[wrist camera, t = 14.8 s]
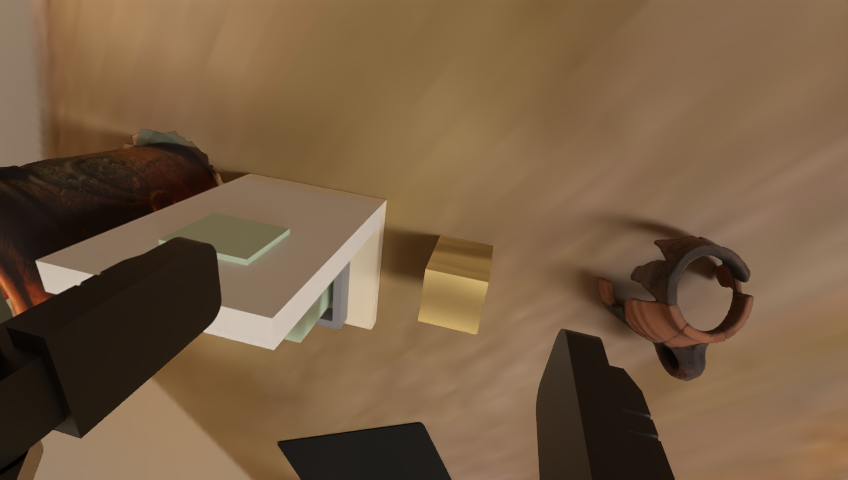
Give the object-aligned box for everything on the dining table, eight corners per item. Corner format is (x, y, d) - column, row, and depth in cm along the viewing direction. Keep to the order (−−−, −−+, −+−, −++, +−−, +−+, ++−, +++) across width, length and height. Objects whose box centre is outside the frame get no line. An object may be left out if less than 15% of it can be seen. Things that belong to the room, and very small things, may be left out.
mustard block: (440, 235, 38) (425, 268, 31) (493, 245, 37) (488, 282, 31) (433, 280, 40) (417, 320, 33) (483, 291, 39) (476, 334, 33)
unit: (249, 169, 39) (33, 254, 21) (387, 195, 37) (272, 311, 20) (257, 293, 45) (93, 438, 28) (375, 321, 43) (280, 496, 26)
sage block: (286, 248, 40) (244, 282, 34) (333, 258, 39) (298, 294, 33) (288, 290, 42) (248, 330, 36) (333, 300, 41) (300, 342, 35)
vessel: (137, 254, 46) (-104, 368, 28) (99, 128, 41) (-229, 167, 23) (248, 264, 44) (60, 397, 26) (223, 130, 38) (-38, 178, 20)
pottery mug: (577, 251, 36) (641, 256, 28) (667, 220, 37) (753, 216, 29) (613, 375, 37) (685, 415, 29) (700, 340, 38) (792, 369, 30)
